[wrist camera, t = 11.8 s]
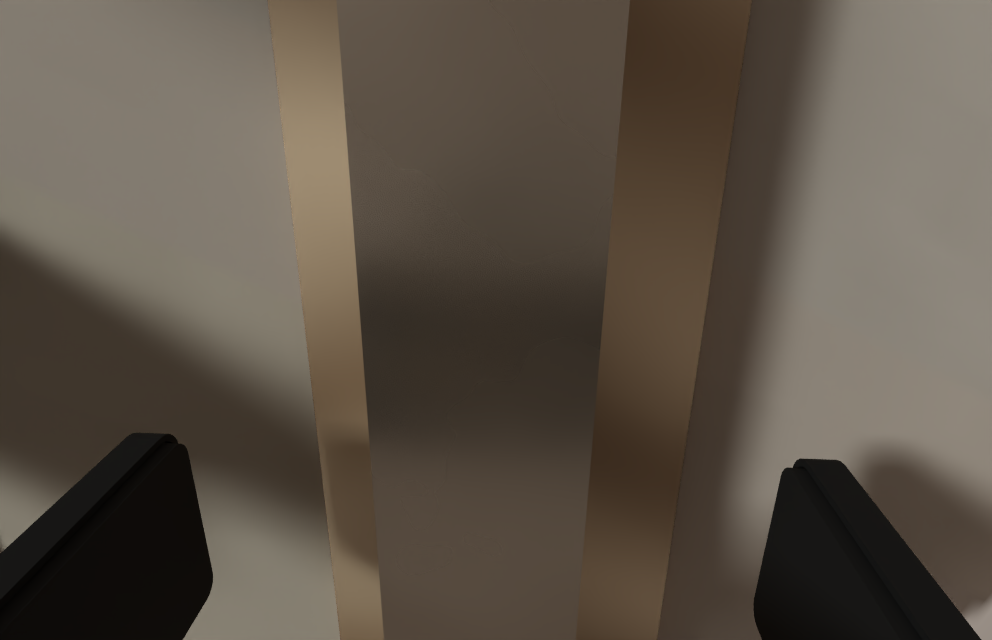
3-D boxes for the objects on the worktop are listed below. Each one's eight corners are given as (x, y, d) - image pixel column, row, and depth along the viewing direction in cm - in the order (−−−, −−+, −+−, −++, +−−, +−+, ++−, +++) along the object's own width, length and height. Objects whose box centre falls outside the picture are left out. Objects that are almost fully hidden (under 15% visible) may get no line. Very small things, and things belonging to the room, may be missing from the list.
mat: (627, 789, 16) (630, 814, 16) (364, 771, 17) (358, 794, 16) (782, -303, 8) (800, -329, 8) (251, -295, 8) (230, -319, 8)
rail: (546, 810, 16) (547, 965, 13) (429, 801, 16) (407, 954, 13) (625, -319, 8) (675, -534, 5) (381, -317, 8) (297, -522, 5)
